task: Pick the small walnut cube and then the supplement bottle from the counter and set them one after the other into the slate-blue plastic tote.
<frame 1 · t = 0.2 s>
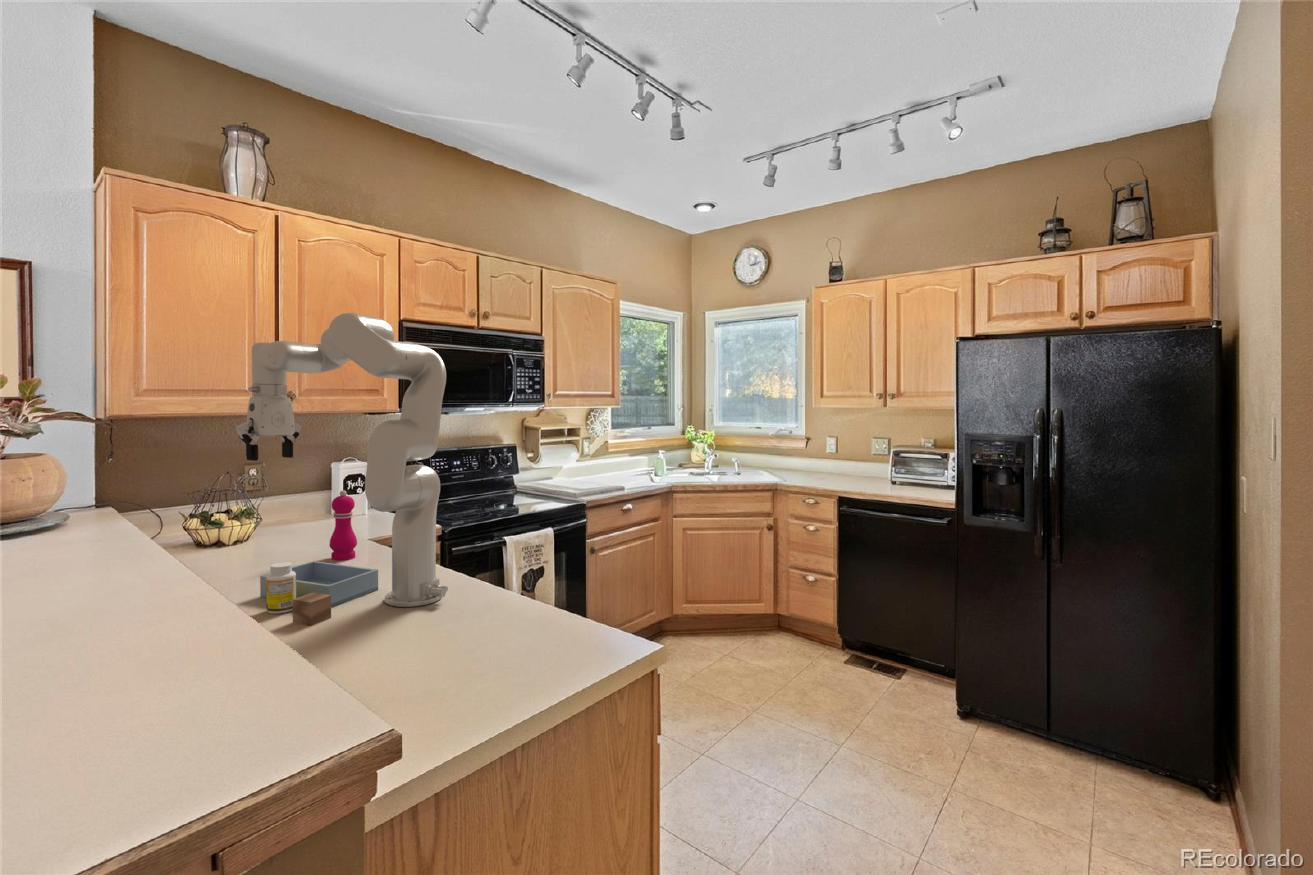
hand: (270, 458, 153), 31 cm above the worktop, tool pointing down, fingers open, 9 cm apart
tote: (320, 593, 144), on the worktop
walnut cube: (312, 620, 126), on the worktop
pepper mill: (343, 558, 176), on the worktop
supplement bottle: (281, 611, 132), on the worktop
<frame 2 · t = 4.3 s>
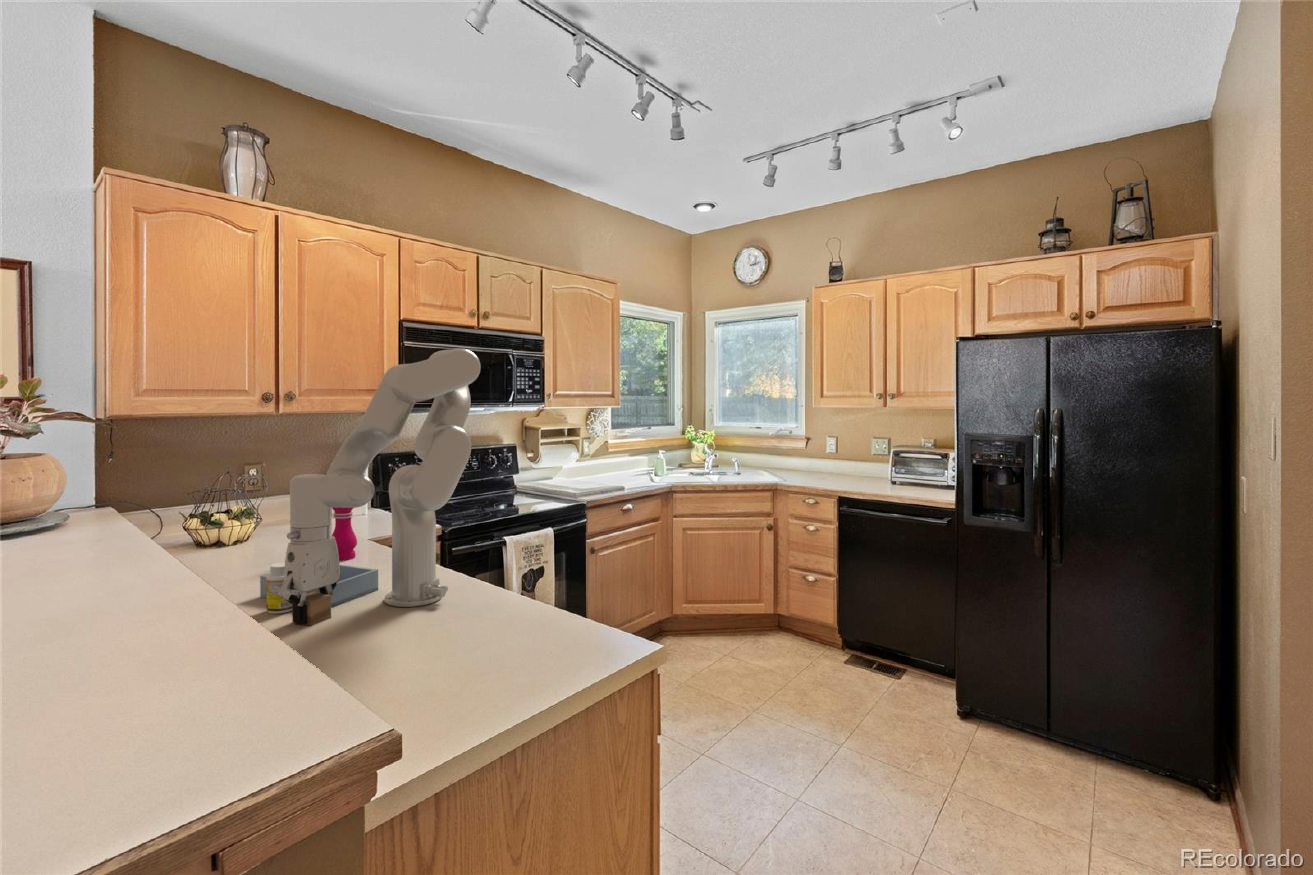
hand: (311, 617, 126), 0 cm above the worktop, tool pointing down, fingers closed on walnut cube, 5 cm apart
walnut cube: (312, 620, 126), on the worktop, touching gripper
everything else where it was.
when the fingers open (4 cm above the worktop, at t = 9.2 s): walnut cube drops 2 cm, resting on tote.
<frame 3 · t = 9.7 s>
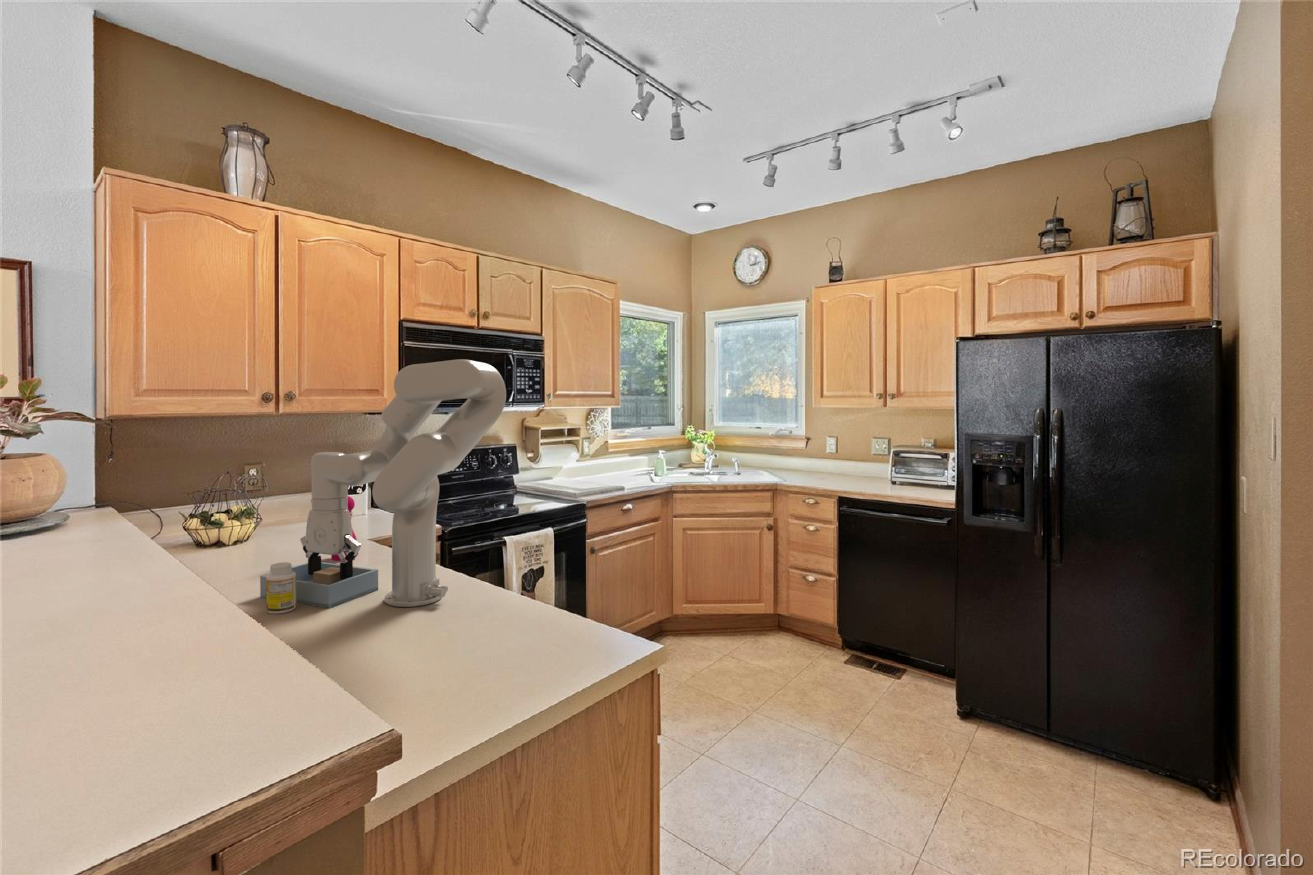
hand: (330, 575, 143), 5 cm above the worktop, tool pointing down, fingers open, 9 cm apart
walnut cube: (330, 591, 143), point 1 cm above the worktop, touching tote
everything else where it was.
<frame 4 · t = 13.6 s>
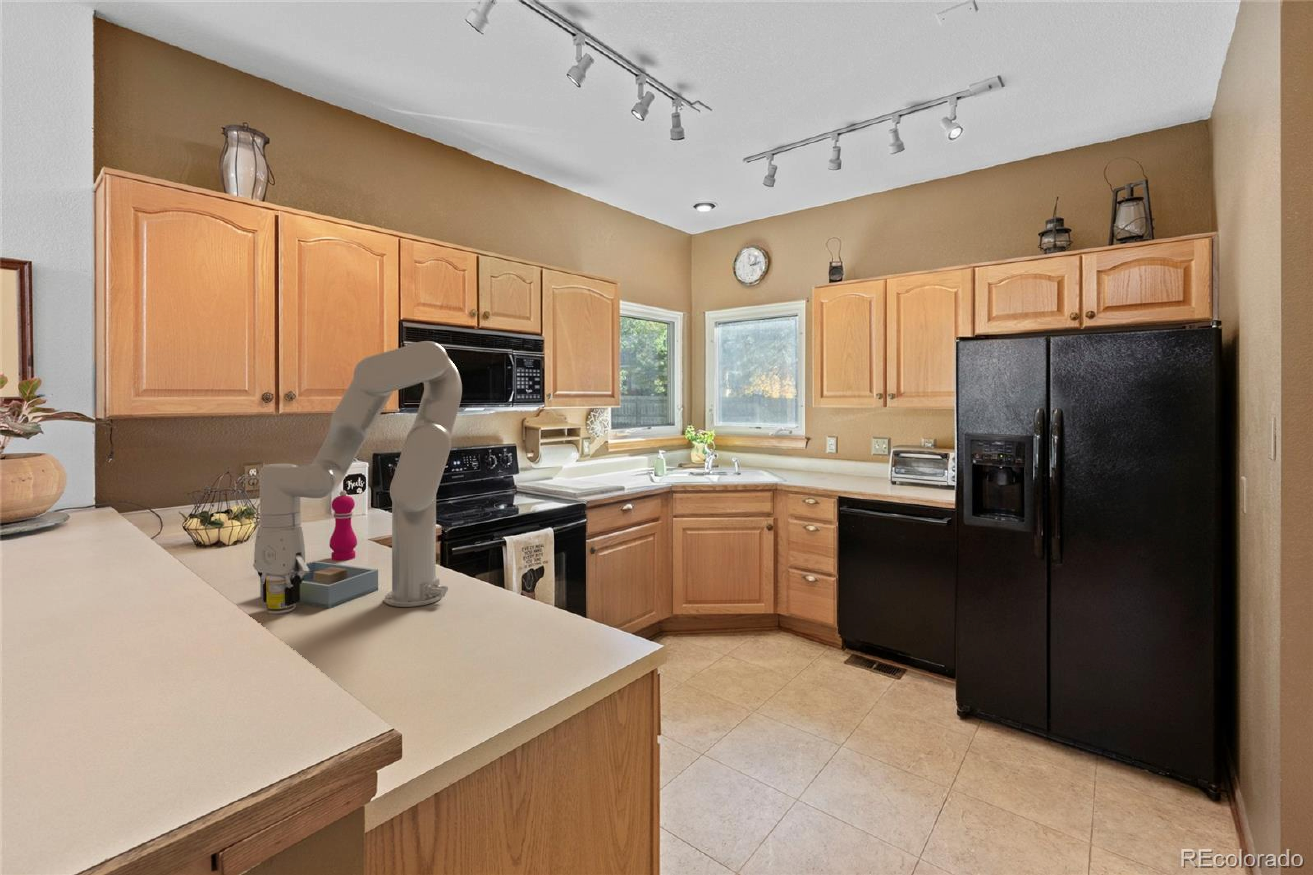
hand: (281, 601, 132), 2 cm above the worktop, tool pointing down, fingers closed on supplement bottle, 5 cm apart
supplement bottle: (281, 611, 132), on the worktop, touching gripper
everything else where it was.
when the fingers open (5 cm above the worktop, at t = 18.1 s): supplement bottle drops 2 cm, resting on tote.
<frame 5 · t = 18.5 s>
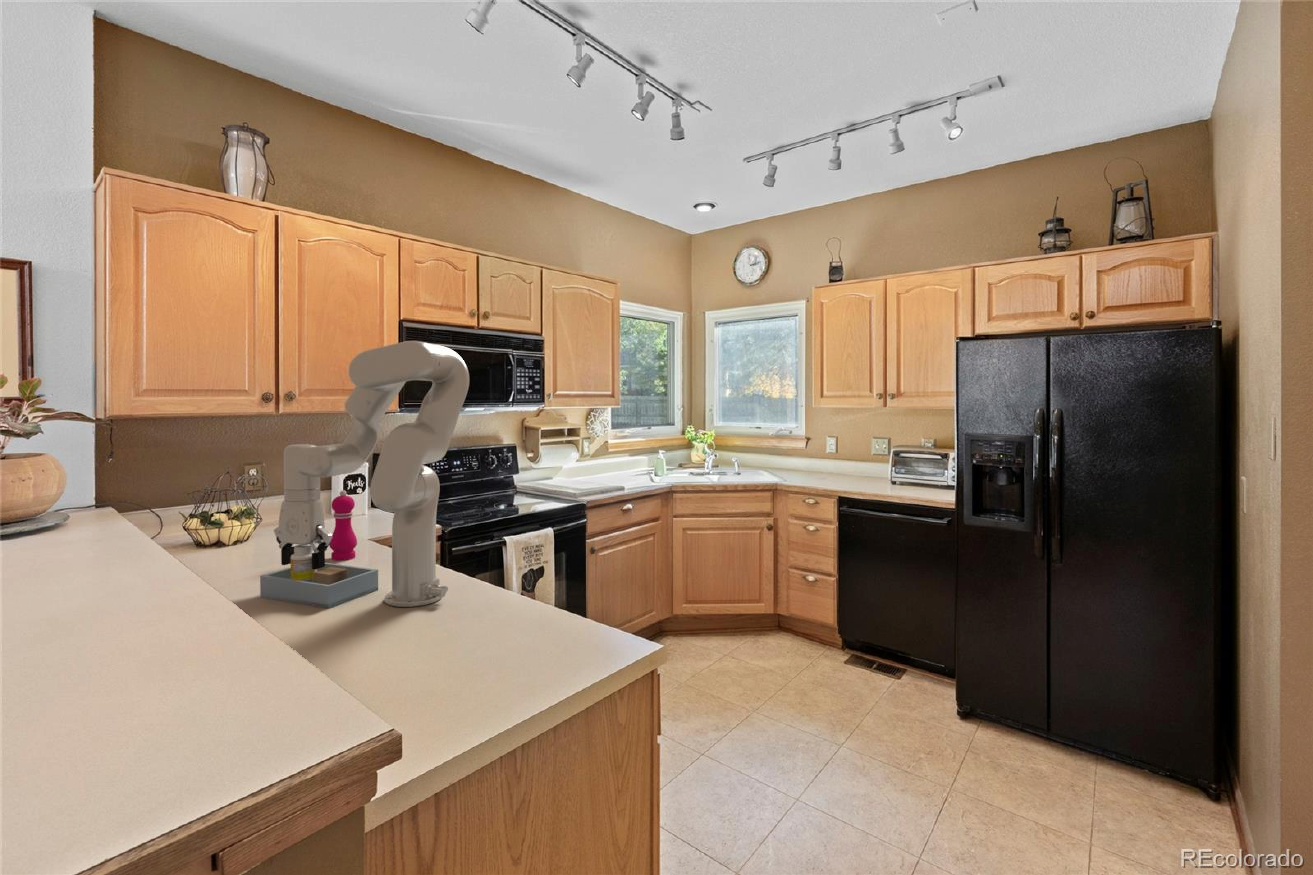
hand: (303, 565, 145), 6 cm above the worktop, tool pointing down, fingers open, 9 cm apart
supplement bottle: (304, 588, 145), point 1 cm above the worktop, touching tote
everything else where it was.
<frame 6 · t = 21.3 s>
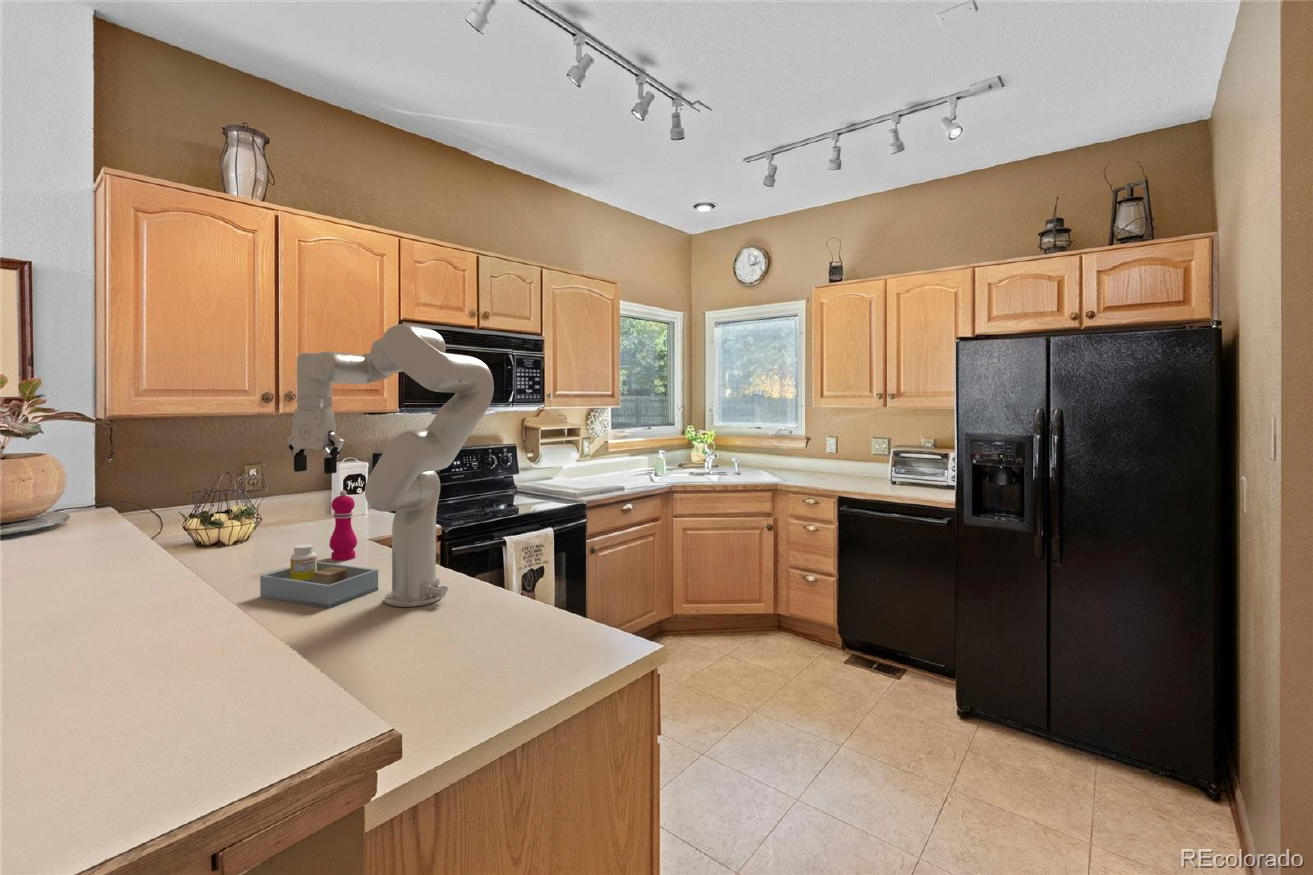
hand: (315, 472, 149), 28 cm above the worktop, tool pointing down, fingers open, 9 cm apart
nothing on the worktop moved.
at the end: walnut cube inside the target area on the tote (3.0 cm from its centre), point 0.8 cm above the tote's base; supplement bottle inside the target area on the tote (5.2 cm from its centre), point 0.6 cm above the tote's base; the gripper is holding nothing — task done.
